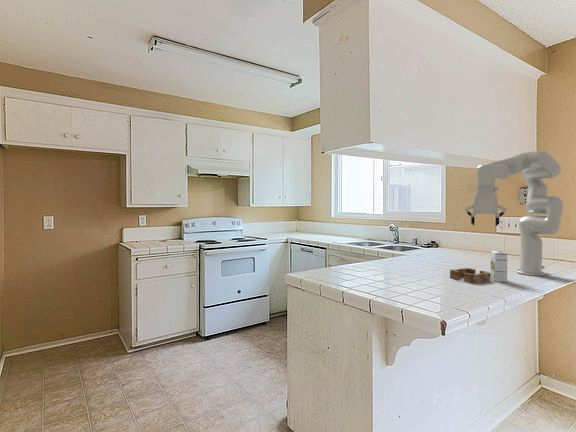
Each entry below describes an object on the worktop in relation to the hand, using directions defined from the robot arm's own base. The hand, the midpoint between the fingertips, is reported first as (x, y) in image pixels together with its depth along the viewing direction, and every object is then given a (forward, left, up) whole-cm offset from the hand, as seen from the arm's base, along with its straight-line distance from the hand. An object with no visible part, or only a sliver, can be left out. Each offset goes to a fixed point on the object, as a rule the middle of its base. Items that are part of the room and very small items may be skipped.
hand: (484, 225), depth 160 cm
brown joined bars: (+1, -7, -28) cm, 29 cm away
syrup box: (-10, +1, -28) cm, 30 cm away
